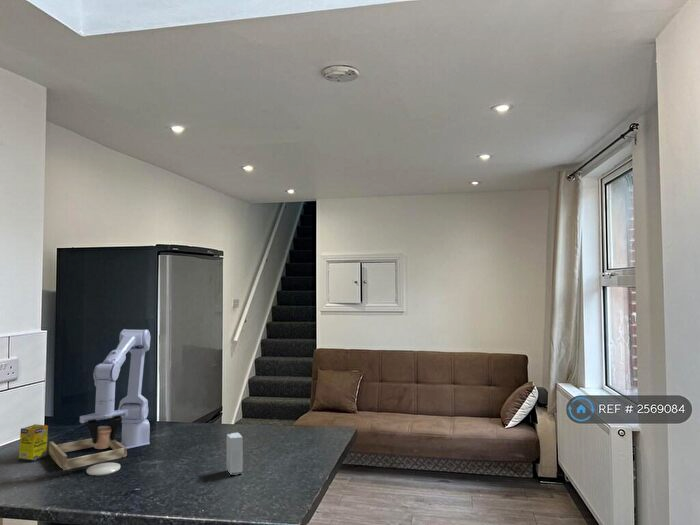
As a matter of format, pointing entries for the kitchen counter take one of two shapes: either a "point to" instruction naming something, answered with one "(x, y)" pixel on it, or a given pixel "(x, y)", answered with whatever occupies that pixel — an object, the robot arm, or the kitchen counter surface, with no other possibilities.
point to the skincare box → (234, 453)
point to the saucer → (103, 469)
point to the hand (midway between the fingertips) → (103, 441)
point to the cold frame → (64, 463)
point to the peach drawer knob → (103, 437)
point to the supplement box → (33, 442)
